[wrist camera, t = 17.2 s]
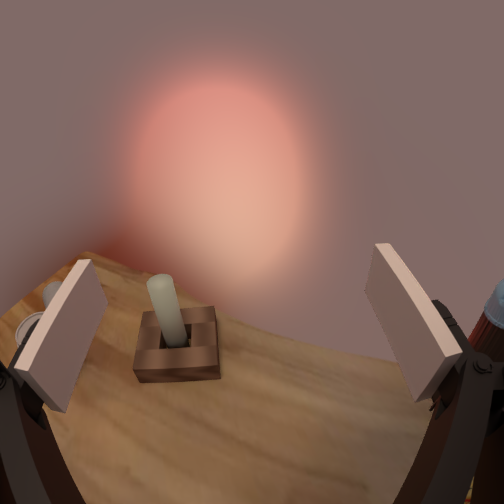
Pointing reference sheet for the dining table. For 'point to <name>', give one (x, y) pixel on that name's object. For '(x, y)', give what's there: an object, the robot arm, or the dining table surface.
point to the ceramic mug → (50, 292)
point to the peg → (167, 311)
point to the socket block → (178, 349)
